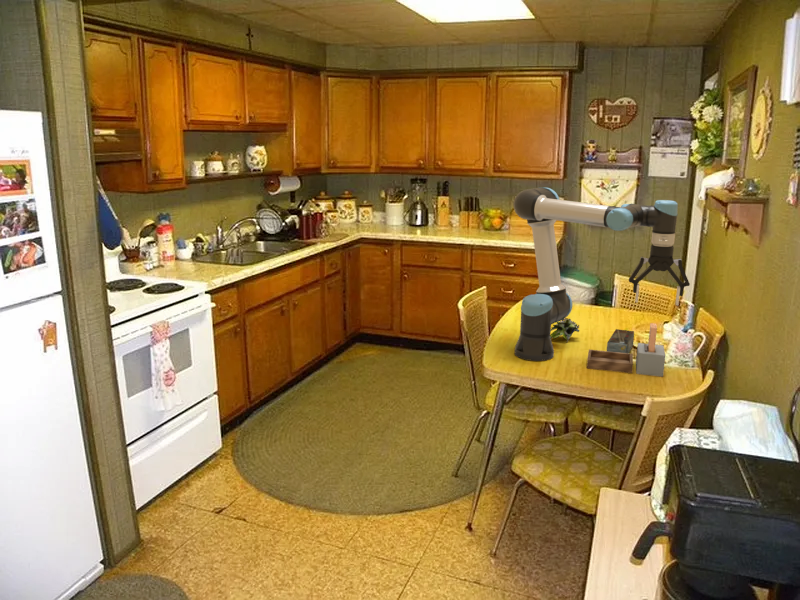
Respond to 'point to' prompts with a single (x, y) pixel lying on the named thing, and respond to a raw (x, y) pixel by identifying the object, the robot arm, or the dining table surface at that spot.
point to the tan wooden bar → (652, 337)
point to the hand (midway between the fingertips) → (656, 303)
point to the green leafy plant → (564, 329)
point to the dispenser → (650, 360)
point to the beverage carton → (621, 341)
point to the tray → (610, 361)
